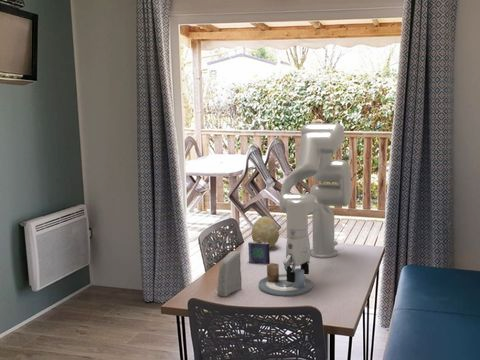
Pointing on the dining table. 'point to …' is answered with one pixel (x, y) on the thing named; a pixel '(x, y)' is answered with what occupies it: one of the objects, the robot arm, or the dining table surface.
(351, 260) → the dining table surface
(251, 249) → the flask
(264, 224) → the fossilized egg
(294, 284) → the smooth blue-gray rounded cylinder
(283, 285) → the plate
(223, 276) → the decorative stone
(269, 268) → the brown rounded cylinder
